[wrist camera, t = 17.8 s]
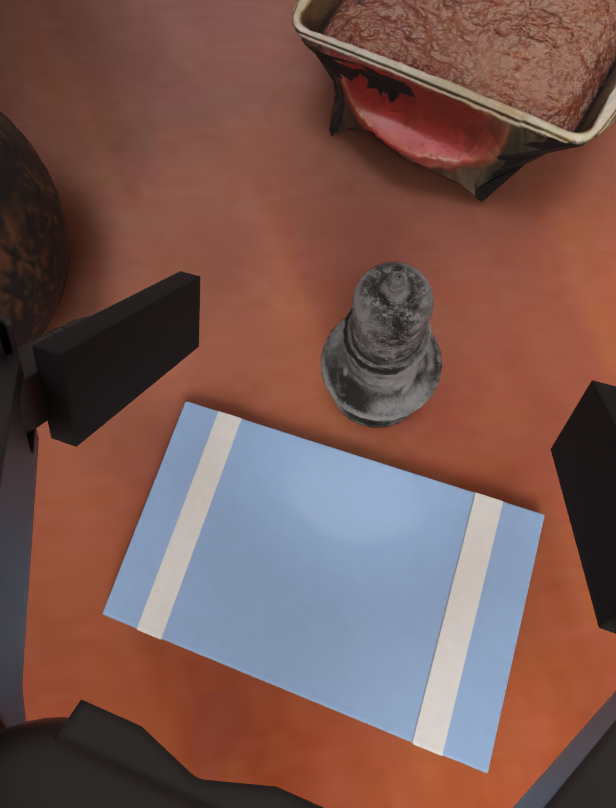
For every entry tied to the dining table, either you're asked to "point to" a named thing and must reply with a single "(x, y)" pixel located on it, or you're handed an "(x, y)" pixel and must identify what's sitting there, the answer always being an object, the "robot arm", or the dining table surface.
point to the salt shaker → (384, 348)
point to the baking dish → (468, 78)
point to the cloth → (333, 579)
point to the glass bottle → (29, 237)
